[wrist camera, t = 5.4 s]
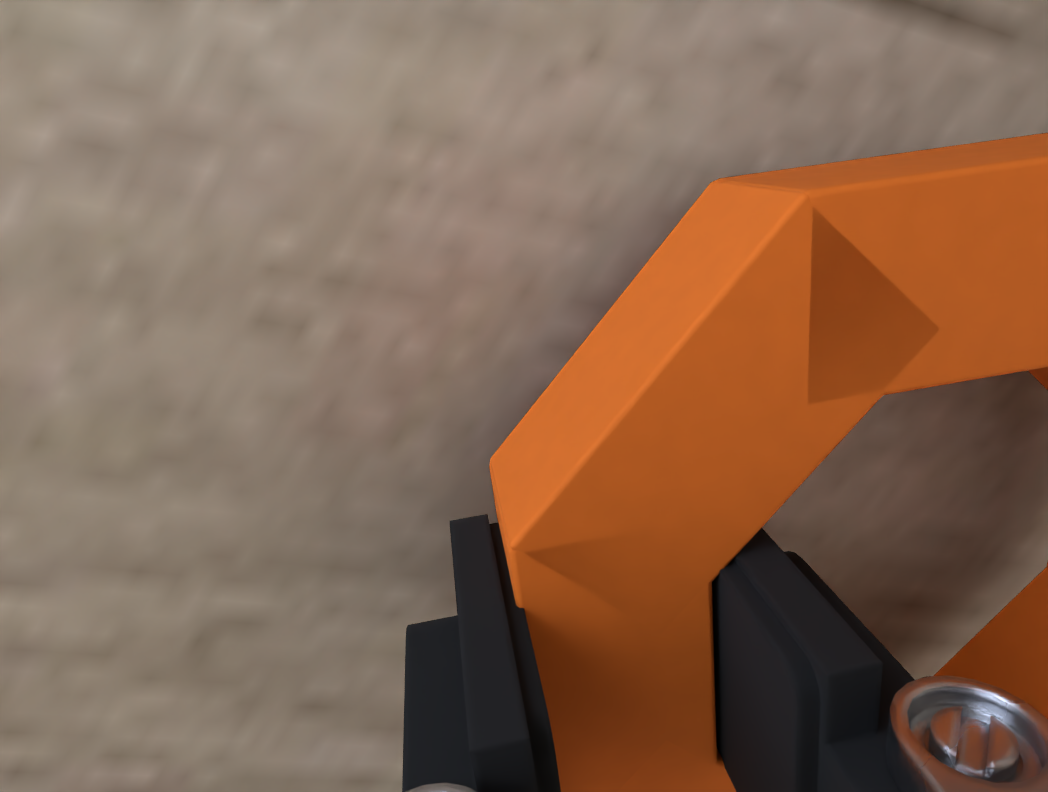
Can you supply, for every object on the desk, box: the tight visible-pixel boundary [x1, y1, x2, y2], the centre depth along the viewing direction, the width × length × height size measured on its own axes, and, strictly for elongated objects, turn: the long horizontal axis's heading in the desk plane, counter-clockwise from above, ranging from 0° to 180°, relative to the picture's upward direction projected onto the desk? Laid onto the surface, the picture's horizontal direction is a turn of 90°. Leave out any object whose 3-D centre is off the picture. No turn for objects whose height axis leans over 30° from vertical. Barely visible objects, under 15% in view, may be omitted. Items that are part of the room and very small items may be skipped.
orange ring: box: [489, 133, 1048, 792], centre depth 9 cm, size 11×11×2 cm
